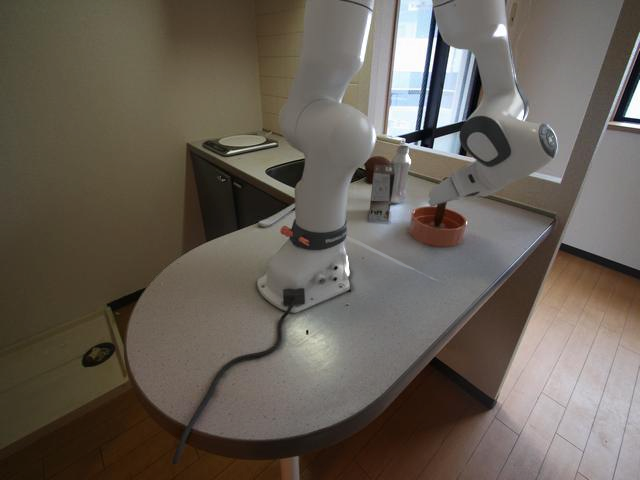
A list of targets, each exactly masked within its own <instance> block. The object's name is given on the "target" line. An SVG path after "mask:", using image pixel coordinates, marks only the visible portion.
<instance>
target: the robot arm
mask: <svg viewBox="0 0 640 480" xmlns="http://www.w3.org/2000/svg"><path fill="white" fill-rule="evenodd" d="M431 2H432V7H433V8H432V9H433V13H434V18H435V22H436V26H437V30H438V31H439V34H440V36H441V38H442V41H443V42H444V43H445V44H446V45H448V46H449V47H452V48H454V49H458V50H463V51H466V50H467V51H469V52H471V53H472V55H474V57H475V60H476V63H477V68H478V72H479V76H480V81H481V85H482V91H483V92H482V97H481V100H480V103H479V104H478V107H477V108H476V109H475V110H474V111H473V112H472V113H471V114H470V115H469V117H468V118H467V119H466V120H465V122H464V123H463V124H462V126H461V127H460V130H459V135H458V137H459V142H460V145H461V147H462V148H463V149H464V151H465V152H466V153H467V154H468V155H470V156H471V157H472V158H473V159H474V161H472V162H471V163H469V164H468V165H465V166H463V167H460V168H457V169H455V170H454V171H452V172H450V176H448V177H449V178H447V179H445V180H444V181H443V180H442V181H440V183H437V185H436V186H434V187H433V188H431V189H430V190H429V191H428V197H429V200H428V204H429V206H434V207H436V206H437V205H438V204H441V203H445V202H447V203H449V202H452V201H453V202H454V201H458V200H461V199H464V198H469V197H482V198H486V197H489V196H490V195H493V194H494V193H497V192H499V191H501V190H503V189H505V188H507V187H508V186H509V185H510V184H511V183H513V182H515V181H520V180H523V179H525V178H528V177H529V176H531V175H533V174H534V173H536V172H537V171H539V170H541V169H542V168H544V167H545V166H547V165H549V164H550V163H551V162H553V160H554V159H555V157H556V155H557V152H558V150H559V149H558V148H559V144H558V137H557V135H556V133H555V130H554V129H552V127H550V125H549V124H547V123H544V122H542V123H541V122H540V123H538V122H537V123H536V122H532V121H531V122H530V121H527V120H526V119H527V117H528V115H529V111H530V110H529V109H530V103H529V99H528V97H527V95H526V93H525V91H524V90H523V89H522V87H521V85H520V83H519V81H518V78H517V74H516V69H515V64H514V63H515V62H514V57H513V51H512V50H513V49H512V44H511V39H510V33H509V27H508V20H507V15H506V12H507V11H506V0H431ZM374 7H375V0H305V7H304V18H303V25H302V26H303V27H302V35H301V42H300V43H301V44H300V51H299V56H298V62H297V65H296V70H295V73H294V76H293V80H292V84H291V87H290V90H289V93H288V96H287V99H286V101H285V102H284V104H283V105H282V106H281V108H280V110H279V113H278V117H277V125H278V129H279V132H280V134H281V135H282V136H283V138H284V140H285V141H286V142H287V144H288V145H289V146H291V147H292V148H293V149H295V150H296V151H298V152H300V153H302V154H303V156H304V168H303V172H302V176H301V179H300V180H299V181H298V182H297V183H296V185H295V187H294V203H295V208H294V213H295V214H294V215H295V217H294V220H293V223H292V226H291V228H290V227H289V226H287V225H282V227H281V228H280V231H279V232H280V234H281V235H283V236H285V237H287V238H288V239H287V240H286V241H285V242H284V244H283V245H282V246H281V247H280V248H279V249H278V251H276V253H275V254H274V255H273V256H272V257H271V258H270V259H269V261H268V262H267V263H268V264H267V267H266V272H265V274H263V275H262V276H261V277H259V278H258V279H257V282H256V283H257V284H256V285H257V290H258V292H259V293H260V295H261V296H262V297H263V298H264V299H265V300H266V301H268V302H269V303H270V304H271V305H273V306H274V307H276V308H277V309H280V310H282V311H285V312H283V314H282V315H281V316H280V318H279V321H278V324H277V340H276V342H275V343H274V344H273V345H272V346H271V347H269V348H268V349H265V350H263V351H259V352H254V353H253V352H252V353H248V354H244V355H240V356H237V357H234V358H233V359H231V360H230V361H228V362H227V363H226V364H224V365H223V366H222V367H221V368H220V370H219V371H218V372H217V374H216V375H215V377H214V379H213V380H212V382H211V384H210V387H209V388H208V389H207V392H206V394H205V396H204V398H203V399H202V401H201V403H200V404H199V406H198V407H197V409H196V411H195V412H194V413H193V415H192V417H191V418H190V420H189V421H188V424H187V425H186V426H185V429H184V431H183V432H182V434H181V436H180V439H179V442H178V444H177V447H176V449H175V452H174V456H173V460H172V465H173V466H176V465H177V464H178V463H179V461H180V458H181V454H182V451H183V448H184V446H185V443H186V441H187V438H188V436H189V435H190V432H191V430H192V428H193V426H194V425H195V423H196V421H197V419H198V418H199V416H200V415H201V413H202V411H203V410H204V408H205V406H206V405H207V404H208V402H209V400H210V398H211V396H212V395H213V392H214V390H215V389H216V386H217V384H218V382H219V380H220V378H221V376H222V375H223V374H224V373H225V371H227V370H228V369H229V368H230V367H231V366H232V365H234V364H236V363H239V362H241V361H244V360H249V359H253V358H260V357H264V356H267V355H269V354H271V353H273V352H274V351H276V349H278V348H279V346H280V345H281V343H282V340H283V333H282V332H283V331H282V327H283V322H284V320H285V319H286V318H287V317H288V316H289V314H290V313H293V314H296V313H299V312H302V311H303V310H306V309H309V308H311V307H313V306H315V305H318V304H320V303H323V302H325V301H327V300H329V299H332V298H334V297H337V296H338V295H341V294H343V293H346V292H348V291H350V290H351V282H350V280H349V276H350V268H349V267H350V265H349V260H348V259H349V258H348V255H347V249H346V238H347V234H348V222H347V221H348V220H347V219H346V216H347V204H348V203H347V202H348V192H349V189H350V188H349V187H350V184H351V182H352V179H353V177H354V174H355V172H356V171H357V170H358V169H359V168H360V167H362V166H364V164H365V162H366V161H367V160H368V159H369V158H371V157H372V154H373V152H374V149H375V146H376V142H377V141H376V139H377V135H376V134H377V133H376V128H375V126H374V123H373V122H372V120H371V119H370V118H369V117H368V116H367V115H366V114H365V113H363V112H362V111H360V110H359V109H357V108H356V107H354V106H353V105H351V104H347V103H344V102H342V101H343V98H344V95H345V93H346V90H347V88H348V87H349V84H350V82H351V81H352V80H353V78H354V77H355V76H356V75H358V73H359V72H360V70H361V69H362V66H364V63H365V57H366V53H367V52H366V51H367V46H368V42H369V34H370V29H371V24H372V20H373V19H372V18H373V13H374Z"/></svg>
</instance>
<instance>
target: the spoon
mask: <svg viewBox="0 0 640 480" xmlns="http://www.w3.org/2000/svg"><path fill="white" fill-rule="evenodd" d="M293 209H295V202H293V203H292V204H290V205H289V206H286V208H284V209H282V210H281V211H279V212H277V213H275V214H273V215H272V216H269V217H268V218H265V219H262V220H259V221H258V226H259V227H261V228H265V227H266V228H267V227H270V226H271V225H273V224H274V223H276V222H277V221H279V220H280V219H281V218H282V217H284V216H285V215H286V214H288V213H289V212H291V211H292V210H293Z"/></svg>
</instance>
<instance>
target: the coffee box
mask: <svg viewBox="0 0 640 480" xmlns="http://www.w3.org/2000/svg"><path fill="white" fill-rule="evenodd" d="M394 178H395V166H390V165H375V167H374V174H373V182H372V183H371V184H372V185H371V191H370V203H369V212H368V213H369V214H368V221H373V222H374V221H375V222H383V223H384V222H385V223H389V217H390V211H391V204H392V203H391V199H392V192H393V185H394Z"/></svg>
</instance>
